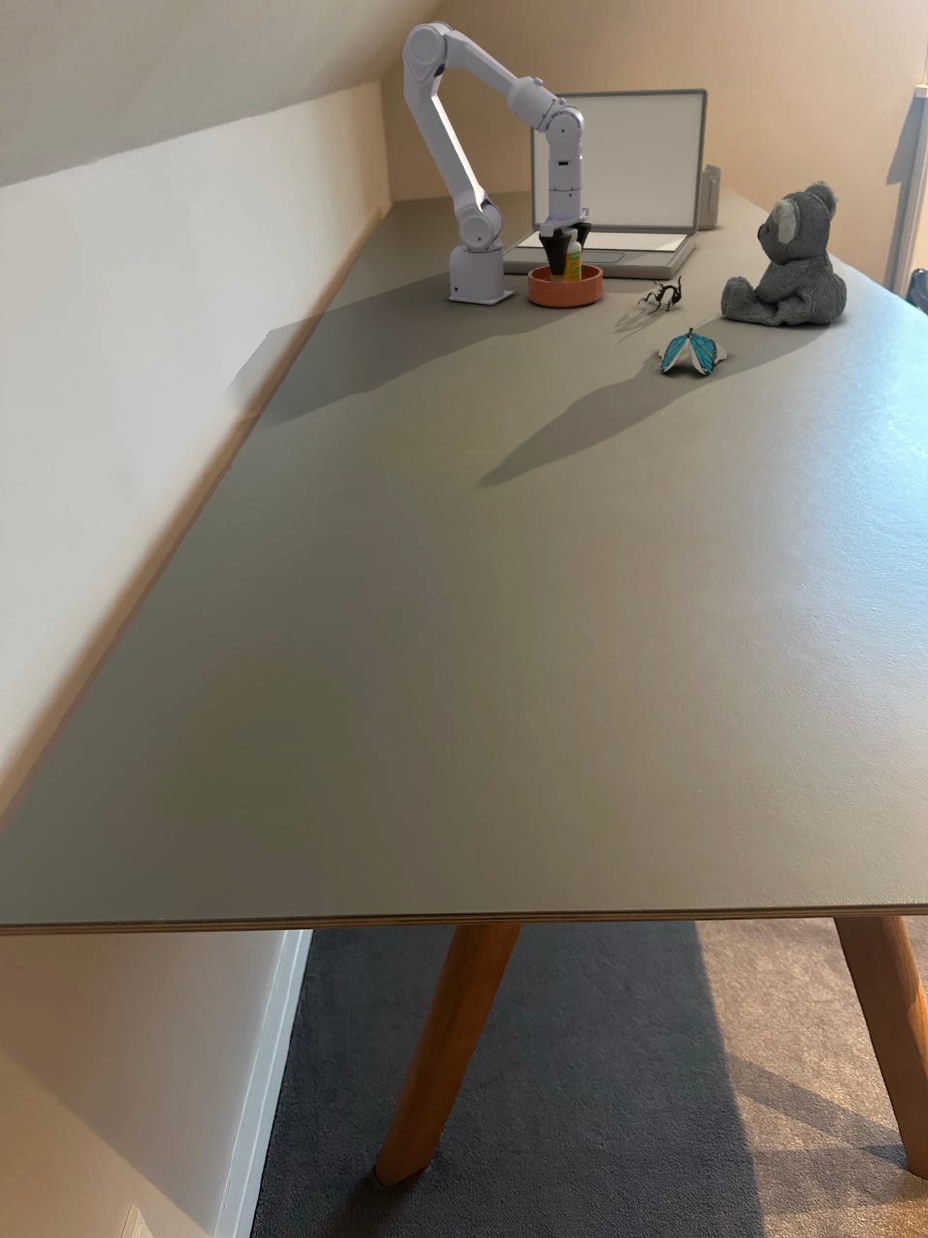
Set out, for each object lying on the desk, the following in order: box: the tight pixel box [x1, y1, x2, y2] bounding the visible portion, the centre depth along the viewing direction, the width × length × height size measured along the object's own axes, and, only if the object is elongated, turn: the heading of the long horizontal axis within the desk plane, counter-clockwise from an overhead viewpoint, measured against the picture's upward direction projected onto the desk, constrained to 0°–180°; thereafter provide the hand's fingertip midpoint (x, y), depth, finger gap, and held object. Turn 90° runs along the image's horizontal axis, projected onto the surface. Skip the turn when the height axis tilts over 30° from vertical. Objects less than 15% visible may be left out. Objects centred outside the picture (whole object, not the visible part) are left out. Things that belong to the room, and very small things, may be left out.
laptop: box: [503, 87, 709, 280], centre depth 184 cm, size 36×28×29 cm
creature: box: [636, 275, 683, 315], centre depth 160 cm, size 8×5×8 cm
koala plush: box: [720, 179, 848, 327], centre depth 149 cm, size 17×18×20 cm
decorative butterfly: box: [658, 318, 728, 376], centre depth 136 cm, size 10×6×10 cm
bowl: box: [527, 264, 604, 308], centre depth 168 cm, size 13×13×4 cm
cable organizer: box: [698, 163, 723, 230], centre depth 208 cm, size 7×12×12 cm, turn 13°
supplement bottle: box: [551, 228, 581, 282], centre depth 166 cm, size 5×5×10 cm
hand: (565, 270), depth 167 cm, fingers closed on supplement bottle, 5 cm apart
